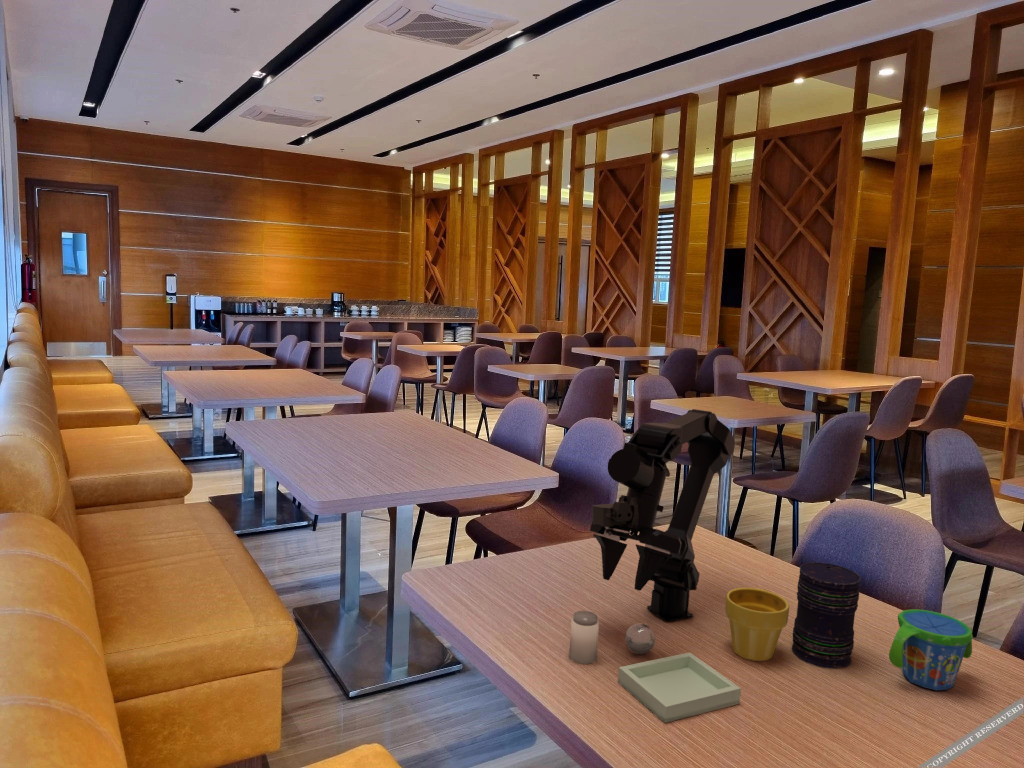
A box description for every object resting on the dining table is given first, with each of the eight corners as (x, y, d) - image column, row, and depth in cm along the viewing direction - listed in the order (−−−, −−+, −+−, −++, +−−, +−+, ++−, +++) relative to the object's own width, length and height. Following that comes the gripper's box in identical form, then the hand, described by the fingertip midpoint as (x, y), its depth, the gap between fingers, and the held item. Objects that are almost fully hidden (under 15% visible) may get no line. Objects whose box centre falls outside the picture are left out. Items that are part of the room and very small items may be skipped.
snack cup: (942, 661, 131) (949, 606, 130) (993, 694, 121) (1001, 633, 120) (864, 667, 128) (871, 610, 126) (910, 701, 118) (918, 639, 116)
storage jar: (854, 674, 125) (864, 588, 123) (791, 662, 128) (800, 578, 126) (848, 647, 135) (857, 567, 133) (790, 637, 138) (798, 559, 136)
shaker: (587, 648, 130) (590, 608, 129) (601, 661, 125) (604, 619, 125) (564, 653, 128) (566, 612, 127) (578, 666, 123) (580, 623, 123)
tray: (688, 666, 125) (689, 652, 125) (739, 703, 114) (740, 688, 114) (617, 682, 119) (619, 667, 119) (664, 723, 108) (666, 706, 108)
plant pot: (752, 672, 124) (757, 615, 123) (709, 644, 133) (713, 591, 132) (797, 660, 129) (802, 606, 128) (752, 634, 138) (757, 583, 137)
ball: (642, 643, 132) (644, 616, 132) (659, 656, 128) (661, 628, 127) (618, 648, 130) (620, 620, 130) (635, 661, 126) (637, 633, 125)
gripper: (577, 478, 135) (554, 564, 132) (639, 486, 119) (614, 584, 116) (626, 495, 140) (604, 578, 137) (693, 505, 123) (670, 600, 120)
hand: (621, 584), depth 127 cm, fingers open, 9 cm apart
